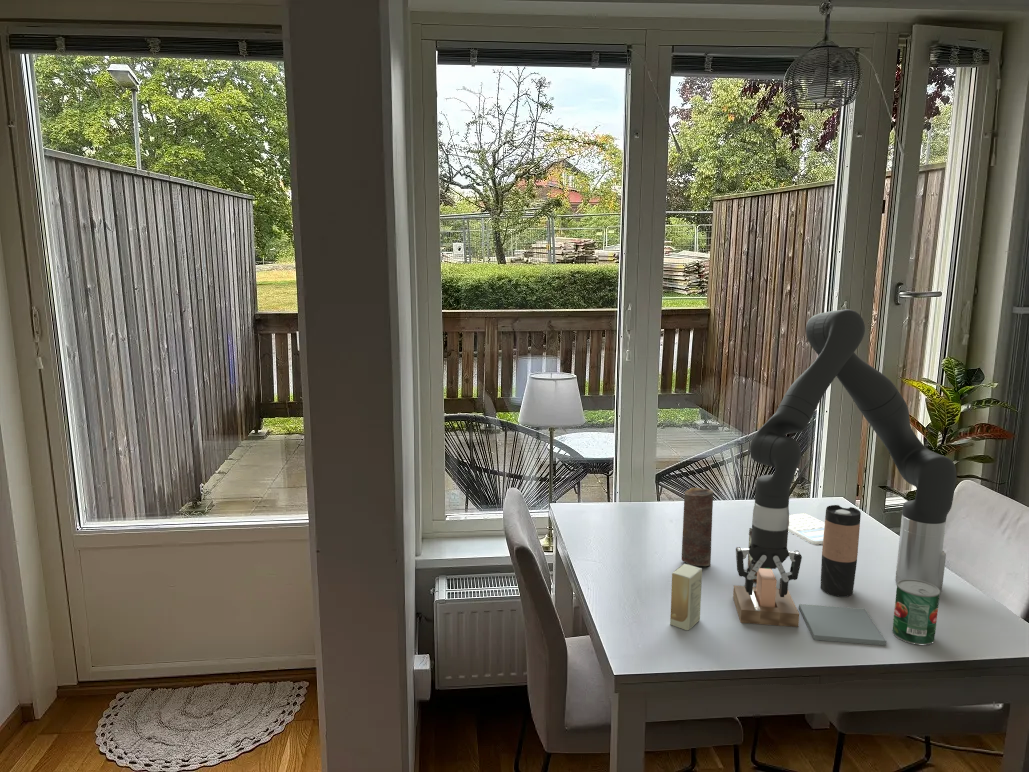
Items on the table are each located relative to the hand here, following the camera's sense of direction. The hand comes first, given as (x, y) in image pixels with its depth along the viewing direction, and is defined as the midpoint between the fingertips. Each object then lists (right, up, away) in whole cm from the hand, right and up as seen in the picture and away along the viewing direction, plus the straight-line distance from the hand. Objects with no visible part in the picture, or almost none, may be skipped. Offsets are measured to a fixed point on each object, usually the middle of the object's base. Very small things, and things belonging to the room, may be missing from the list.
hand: (765, 594), depth 162 cm
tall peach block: (0, -4, +1) cm, 4 cm away
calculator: (+30, +4, +50) cm, 59 cm away
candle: (-9, 0, +26) cm, 28 cm away
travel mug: (+21, -2, +11) cm, 24 cm away
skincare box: (-19, -5, -4) cm, 20 cm away
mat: (+14, -5, -6) cm, 16 cm away
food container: (+6, -1, +20) cm, 21 cm away
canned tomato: (+28, -6, -10) cm, 30 cm away
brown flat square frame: (0, -4, +1) cm, 4 cm away
